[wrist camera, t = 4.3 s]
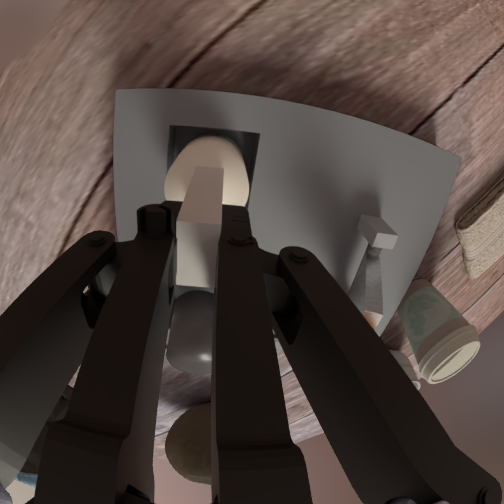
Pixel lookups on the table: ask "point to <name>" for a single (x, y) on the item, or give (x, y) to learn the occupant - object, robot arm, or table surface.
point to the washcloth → (483, 231)
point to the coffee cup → (436, 332)
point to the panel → (294, 178)
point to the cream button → (209, 155)
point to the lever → (368, 287)
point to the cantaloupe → (191, 444)
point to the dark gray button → (191, 333)
